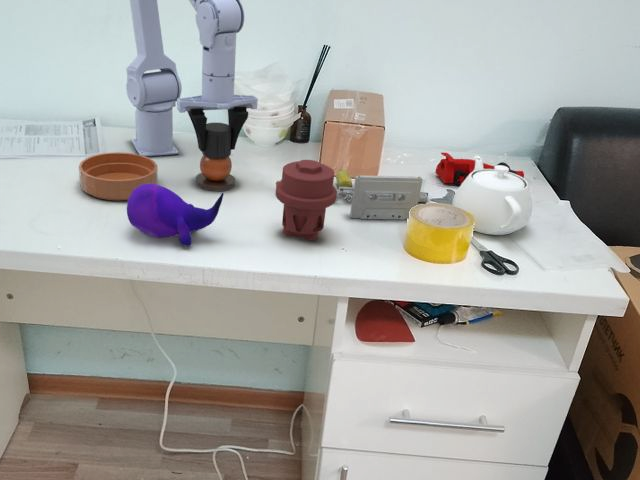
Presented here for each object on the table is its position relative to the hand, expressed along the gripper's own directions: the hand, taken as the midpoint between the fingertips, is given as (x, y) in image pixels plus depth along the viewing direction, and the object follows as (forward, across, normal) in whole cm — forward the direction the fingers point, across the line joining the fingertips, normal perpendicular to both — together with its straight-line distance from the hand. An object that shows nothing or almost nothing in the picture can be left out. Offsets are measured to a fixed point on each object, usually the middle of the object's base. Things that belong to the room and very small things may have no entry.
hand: (216, 148), depth 134 cm
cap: (+1, 0, 0) cm, 1 cm away
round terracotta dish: (+7, -18, +2) cm, 19 cm away
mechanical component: (+7, +8, -24) cm, 26 cm away
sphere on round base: (+7, 0, 0) cm, 7 cm away
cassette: (+7, +25, -21) cm, 33 cm away
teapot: (+7, +43, -27) cm, 51 cm away
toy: (+7, -13, -20) cm, 25 cm away
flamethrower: (+7, +24, -10) cm, 27 cm away
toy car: (+7, +54, -9) cm, 55 cm away
